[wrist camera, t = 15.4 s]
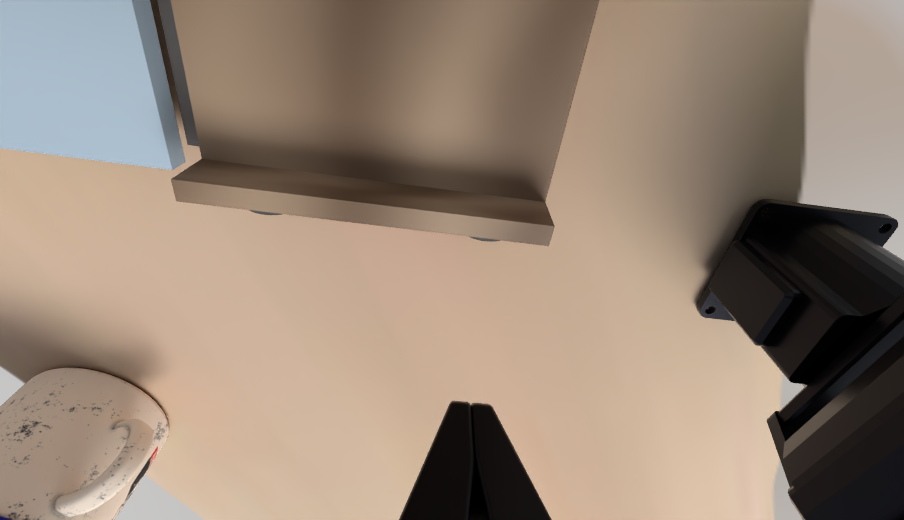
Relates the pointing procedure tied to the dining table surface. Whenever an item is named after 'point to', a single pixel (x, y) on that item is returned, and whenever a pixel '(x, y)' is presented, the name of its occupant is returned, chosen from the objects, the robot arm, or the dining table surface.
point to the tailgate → (86, 82)
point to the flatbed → (379, 108)
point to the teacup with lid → (75, 445)
